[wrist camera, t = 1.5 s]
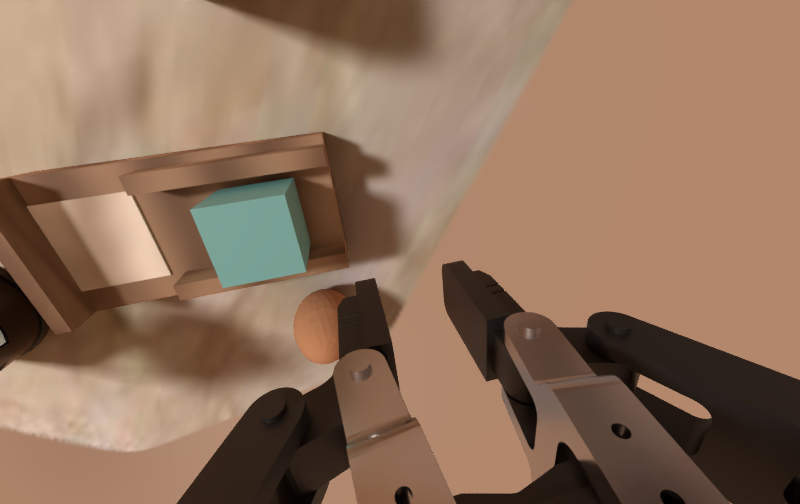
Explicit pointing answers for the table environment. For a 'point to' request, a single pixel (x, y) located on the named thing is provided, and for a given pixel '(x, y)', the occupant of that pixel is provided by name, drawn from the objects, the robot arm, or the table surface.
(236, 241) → the block
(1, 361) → the french press
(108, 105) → the table surface
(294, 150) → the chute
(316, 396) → the robot arm
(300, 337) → the egg
